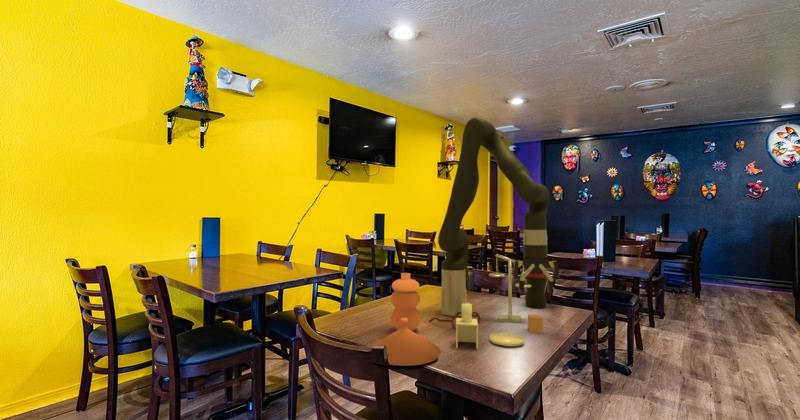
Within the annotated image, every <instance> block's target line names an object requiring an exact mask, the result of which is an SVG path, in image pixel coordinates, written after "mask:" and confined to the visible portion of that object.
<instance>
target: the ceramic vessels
mask: <svg viewBox="0 0 800 420" xmlns="http://www.w3.org/2000/svg"><path fill="white" fill-rule="evenodd" d="M400 277H401V278H398V279H396V280H394V281H393V282H392V284H391V288H392V290H394V291H393V292H392V294H391V296H390V302H391V304H392V306H394V309H393V310H392V311H391V315H390V323H391V325H392V327H394V328H395V330H396V331H394V332H392V333H391V334H388V335H387V336H385V337H384V338H382V339H380V340H378V341H376V342H375V343H373V344H371V345H370V346H369V347H372V346H384V345H386V346H387V352H388V362H389V364H388V365H391V366H404V367H405V366H406V367H407V366H418V365H424V364H428V363H431V362H434V361H436V360H437V359H438V358H439V357H440V356H441V353H442V351H441V349H440V347H439V346H437V345H436V344H434V343H433V342H431V341H429V340H428V339H426V338H424V337H423V336H421V335H419V334H418V333H415V332H414V330H416V329H417V328H418V327H419V325H420V323H421V315H420V311H419V310H418V309H417V306H418V305H420V302H421V296H420V293H419V292H418V290H419V289H420V283H419V282H418V281H416V279H412V278H411V273H409V272H401V273H400Z"/></svg>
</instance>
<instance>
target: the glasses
mask: <svg viewBox="0 0 800 420" xmlns="http://www.w3.org/2000/svg"><path fill="white" fill-rule="evenodd" d="M459 314H462V312H458V313H457V314H456V316H452V318H451V319H440V318H438V317H432V318H431V319H429V320H428V323H431V322H433V321H434V320H437V321H438V322H444V323H451V327H452V329H453V330H455V331H456V325H454V321H455V320H456V318H462V316H459ZM472 317H477V322H478V325H480V321H481V317H480V314H479V313H478V312H477V311H472Z"/></svg>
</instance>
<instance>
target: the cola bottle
mask: <svg viewBox="0 0 800 420" xmlns="http://www.w3.org/2000/svg"><path fill="white" fill-rule="evenodd" d="M524 279H527V284H530V285H531V287H529V288H526V293H525V297H524V302H525V305H526V306H527V307H528V308H529V309H530V308H531V309H544V308H545V307H546V305H547V296H546V293H545V290H546V284H547V277H546V276H545V275H544V274H543V273H542V274H530V273H529V274H528V275H527V276H526V277H525V278H524Z"/></svg>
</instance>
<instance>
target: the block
mask: <svg viewBox="0 0 800 420" xmlns="http://www.w3.org/2000/svg"><path fill="white" fill-rule="evenodd" d="M527 330H528V331H529V332H530V334H544V318H543V317H542V315H541V314H527Z"/></svg>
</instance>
